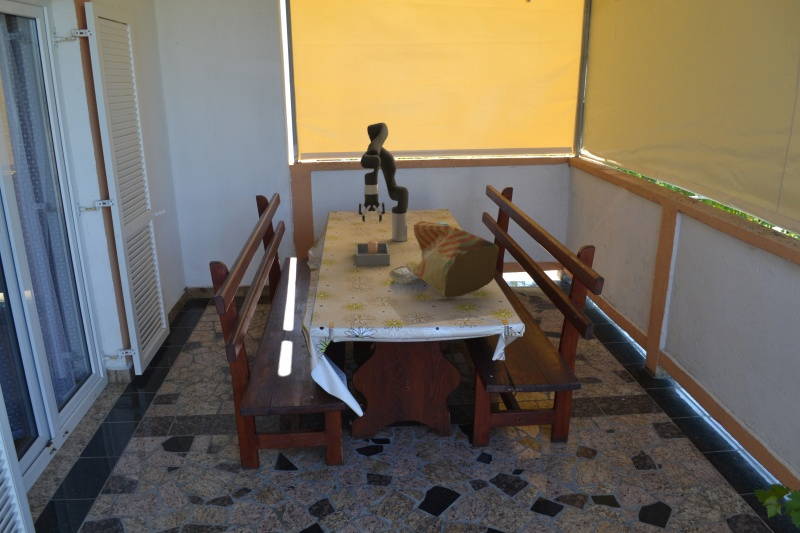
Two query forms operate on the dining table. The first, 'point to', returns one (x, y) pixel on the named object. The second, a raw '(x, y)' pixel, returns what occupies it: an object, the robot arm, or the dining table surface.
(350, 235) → the dining table surface
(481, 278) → the shopping bag
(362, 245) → the tote
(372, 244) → the jar
